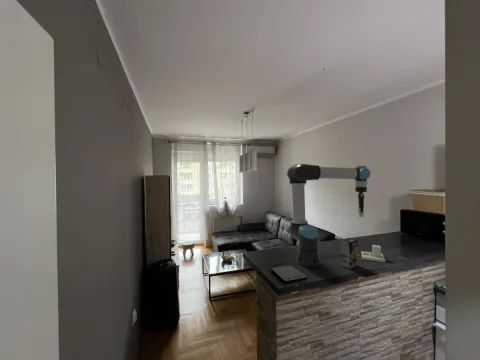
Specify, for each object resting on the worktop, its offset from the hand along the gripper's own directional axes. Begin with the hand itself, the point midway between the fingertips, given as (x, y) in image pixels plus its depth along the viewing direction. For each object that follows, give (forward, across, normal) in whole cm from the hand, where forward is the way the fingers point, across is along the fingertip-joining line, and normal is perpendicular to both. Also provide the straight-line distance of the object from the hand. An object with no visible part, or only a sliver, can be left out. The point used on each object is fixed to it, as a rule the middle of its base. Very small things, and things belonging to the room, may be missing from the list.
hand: (360, 215), depth 164 cm
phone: (+27, -9, +5) cm, 29 cm away
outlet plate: (+27, -12, -6) cm, 30 cm away
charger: (+27, -11, -9) cm, 30 cm away
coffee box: (+27, -32, +8) cm, 43 cm away
